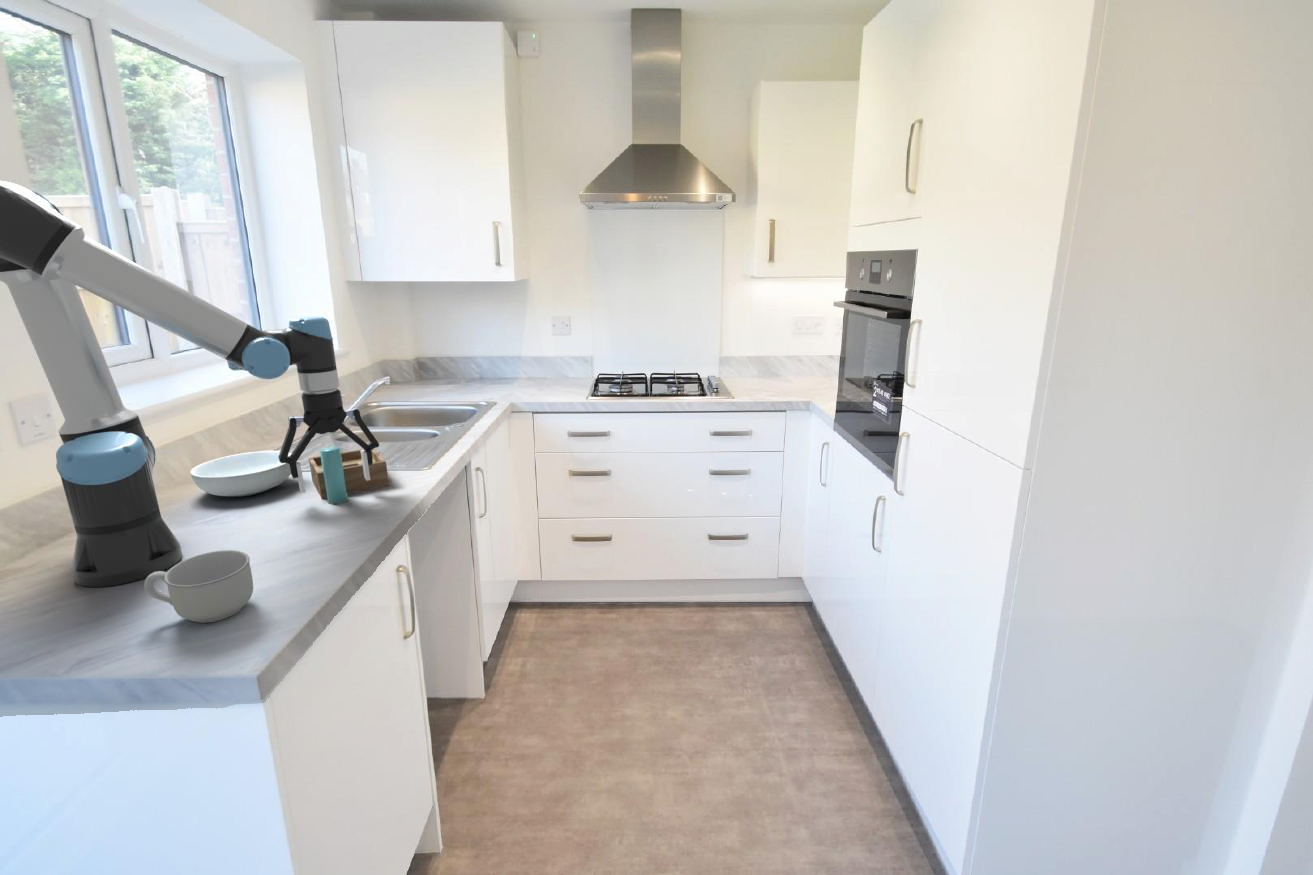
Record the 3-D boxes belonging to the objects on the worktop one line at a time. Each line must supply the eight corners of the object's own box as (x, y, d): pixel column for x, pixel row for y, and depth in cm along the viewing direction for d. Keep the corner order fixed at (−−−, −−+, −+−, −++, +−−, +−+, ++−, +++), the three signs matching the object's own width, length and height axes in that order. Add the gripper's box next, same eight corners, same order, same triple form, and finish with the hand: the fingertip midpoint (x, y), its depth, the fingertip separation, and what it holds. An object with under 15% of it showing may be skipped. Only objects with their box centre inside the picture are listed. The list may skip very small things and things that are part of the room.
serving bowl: (294, 470, 169) (290, 445, 167) (302, 494, 152) (297, 465, 150) (197, 486, 158) (191, 459, 156) (194, 513, 141) (187, 483, 139)
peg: (349, 501, 146) (341, 449, 143) (329, 505, 144) (321, 453, 141) (346, 496, 150) (338, 445, 146) (326, 500, 147) (318, 448, 144)
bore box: (389, 485, 156) (386, 461, 155) (321, 498, 148) (317, 473, 147) (375, 470, 168) (372, 447, 166) (312, 481, 160) (308, 458, 158)
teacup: (271, 593, 106) (263, 548, 104) (232, 630, 96) (221, 581, 93) (184, 596, 106) (173, 551, 103) (134, 634, 95) (121, 584, 93)
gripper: (377, 380, 150) (389, 469, 155) (252, 395, 137) (271, 491, 142) (385, 385, 144) (397, 478, 149) (255, 401, 131) (274, 501, 136)
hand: (335, 484), depth 146 cm, fingers open, 12 cm apart
